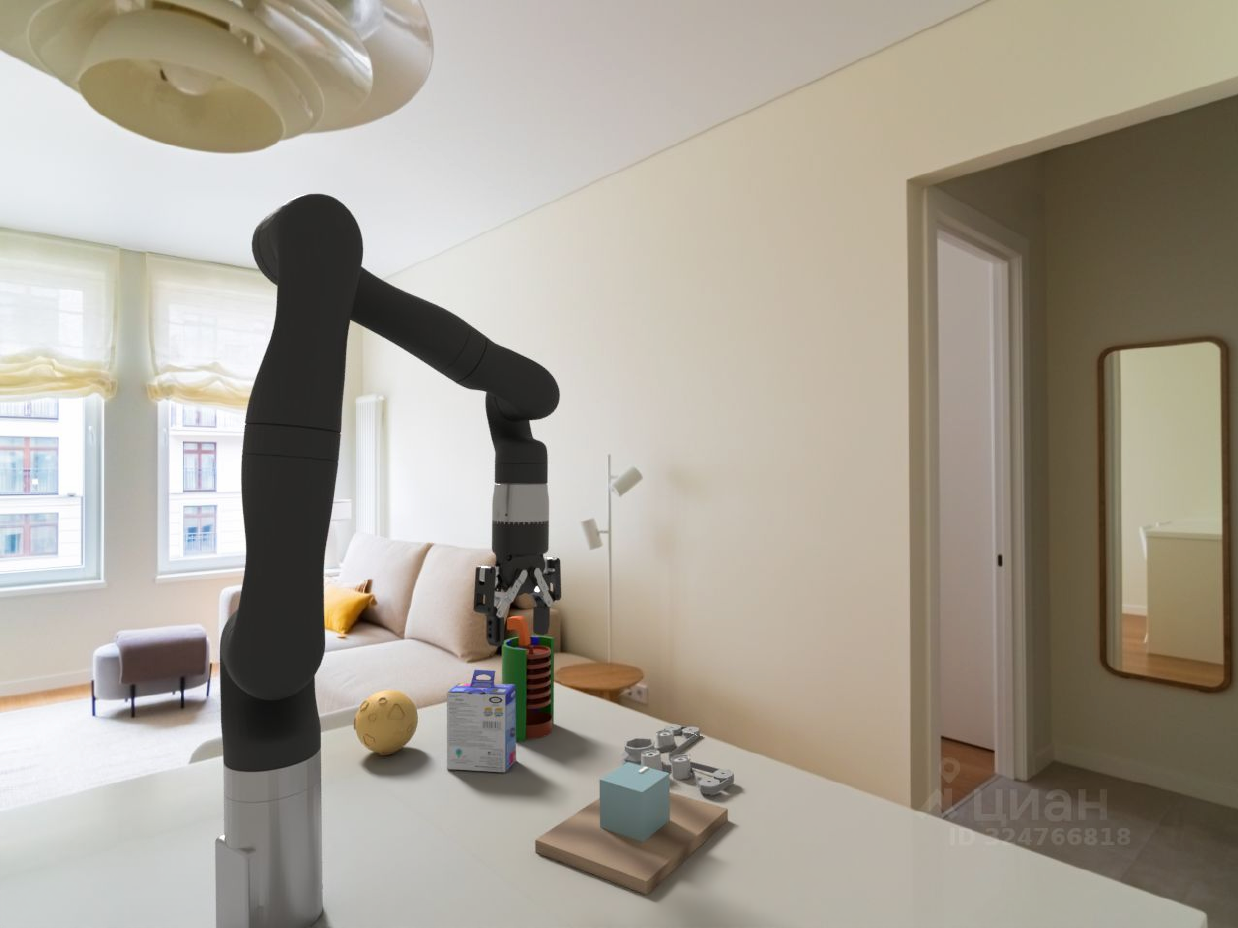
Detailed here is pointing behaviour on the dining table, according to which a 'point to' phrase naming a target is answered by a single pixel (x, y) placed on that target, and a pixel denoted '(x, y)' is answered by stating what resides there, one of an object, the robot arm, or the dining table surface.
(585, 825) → the mounting plate
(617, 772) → the mini blue cabinet
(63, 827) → the dining table surface
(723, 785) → the pulley system
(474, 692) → the ink cartridge box
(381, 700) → the stress ball
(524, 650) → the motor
